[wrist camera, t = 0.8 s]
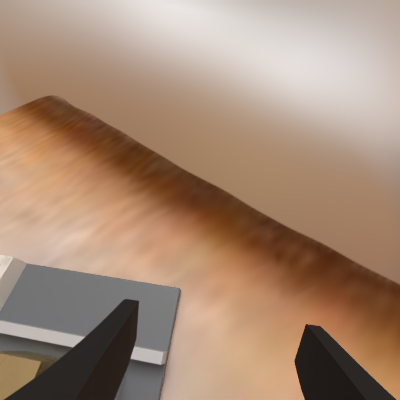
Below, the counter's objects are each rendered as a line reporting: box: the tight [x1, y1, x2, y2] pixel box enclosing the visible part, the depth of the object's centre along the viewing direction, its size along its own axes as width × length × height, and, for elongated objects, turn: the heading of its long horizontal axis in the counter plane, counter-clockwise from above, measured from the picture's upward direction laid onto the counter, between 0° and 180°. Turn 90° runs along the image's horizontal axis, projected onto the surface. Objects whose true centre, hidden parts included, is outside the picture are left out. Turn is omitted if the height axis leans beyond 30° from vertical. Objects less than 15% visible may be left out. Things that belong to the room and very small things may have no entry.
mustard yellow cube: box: [0, 351, 60, 400], centre depth 17 cm, size 4×4×4 cm
